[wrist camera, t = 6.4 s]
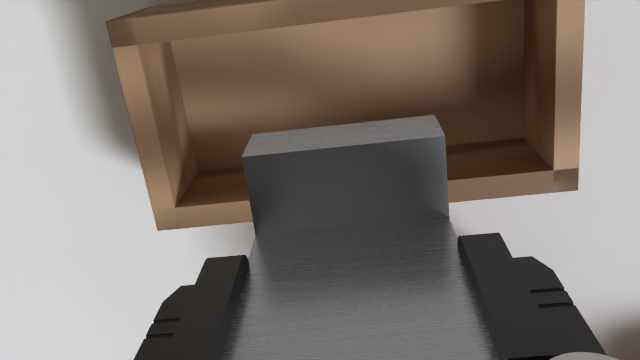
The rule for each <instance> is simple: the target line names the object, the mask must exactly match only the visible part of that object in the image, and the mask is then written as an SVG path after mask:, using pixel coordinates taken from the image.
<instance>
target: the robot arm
mask: <svg viewBox="0 0 640 360" xmlns="http://www.w3.org/2000/svg"><path fill="white" fill-rule="evenodd" d="M457 247H458V250H459V252H460V255H461V258H462V260H463V263H464V266H465V269H466V271H467V274H468V277H469V280H470V282H471V285H472V288H473V290H474V293H475V296H476V299H477V301H478V304H479V307H480V309H481V312H482V315H483V318H484V320H485V323H486V326H487V329H488V331H489V334H490V337H491V339H492V342H493V345H494V348H495V350H496V353H497V356H498V358H499V360H618V359H616V358H613V357H610V356H607V355H606V353H605V352H604V350H603V349H602V347H601V345H600V344H599V342H598V341H597V339H596V337H595V336H594V334H593V333H592V331H591V330H590V328H589V326H588V325H587V323H586V322H585V320H584V318H583V317H582V315H581V314H580V312H579V311H578V309H577V307H576V306H574V305H573V301H572V299H571V298H570V296H569V295H568V293H567V292H566V291H564V287H563V285H562V284H561V282H560V280H559V279H558V277H557V276H556V274H555V273H554V271H553V270H552V269H550V268H549V267H547V266H546V265H544V264H543V263H541V262H540V261H538V260H537V259H535V258H534V257H532V256H531V257H519V258H512V256H511V254H510V252H509V250H508V248H507V246H506V244H505V242H504V241H503V239H502V237H501V235H500V234H499V233H490V234H478V235H467V236H459V237H458V241H457ZM248 268H249V261H248V258H247V257H246V255H238V256H227V257H216V258H207V259H206V261H205V263H204V265H203V267H202V269H201V272H200V274H199V276H198V279H197V281H196V283H195V285H187V286H181V287H179V288H178V289H177V290H176V291H175V292H174V293H173V294H171V295H170V296H169V297H168V298H167V299H166V300H165V301H164V302H163V303H162V305H161V307H160V309H159V311H158V313H157V315H156V317H155V319H154V324H151V326H150V328H149V330H148V332H147V334H146V339H144V340H143V342H142V344H141V346H140V348H139V350H138V352H137V354H136V356H135V358H134V360H222V357H223V353H224V350H225V346H226V343H227V340H228V336H229V333H230V329H231V326H232V322H233V319H234V316H235V312H236V309H237V305H238V302H239V298H240V295H241V292H242V288H243V285H244V281H245V278H246V275H247V271H248Z"/></svg>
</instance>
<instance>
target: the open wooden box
mask: <svg viewBox="0 0 640 360" xmlns="http://www.w3.org/2000/svg"><path fill="white" fill-rule="evenodd" d="M584 13H585V0H207V1H199V2H192V3H184V4H176V5H168V6H160V7H152V8H145V9H142V10H139V11H136V12H134V13H131V14H128V15H125V16H122V17H119V18H116V19H113V20H110V21H107V22H106V25H107V29H108V33H109V37H110V41H111V45H112V49H113V53H114V57H115V61H116V65H117V69H118V73H119V78H120V82H121V86H122V90H123V94H124V98H125V102H126V106H127V110H128V114H129V118H130V122H131V126H132V130H133V134H134V138H135V142H136V146H137V150H138V154H139V158H140V162H141V166H142V170H143V174H144V178H145V182H146V186H147V190H148V194H149V198H150V202H151V206H152V210H153V214H154V218H155V222H156V226H157V230H158V231H159V230H170V229H180V228H190V227H201V226H211V225H222V224H232V223H242V222H253V218H252V212H251V207H250V201H249V196H248V190H247V185H246V179H245V173H244V168H243V162H242V155H243V153H244V151H245V149H246V146H247V144H248V142H249V140H250V138H251V136H252V134H259V133H268V132H277V131H287V130H296V129H305V128H315V127H324V126H333V125H343V124H352V123H362V122H371V121H380V120H390V119H399V118H408V117H418V116H427V115H435V117H436V119H437V121H438V123H439V125H440V127H441V129H442V131H443V133H444V134H445V143H446V164H447V185H448V203H450V202H460V201H471V200H481V199H491V198H502V197H512V196H522V195H533V194H543V193H553V192H564V191H574V190H578V173H579V146H580V120H581V93H582V66H583V40H584Z"/></svg>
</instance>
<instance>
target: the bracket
mask: <svg viewBox="0 0 640 360" xmlns="http://www.w3.org/2000/svg"><path fill="white" fill-rule="evenodd" d="M242 162H243V168H244V173H245V179H246V185H247V190H248V196H249V201H250V207H251V212H252V218H253V223H254V229H255V234H256V236H255V240H254V243H253V246H252V250H251V253H250V256H249V259H248V261H249V268H248V271H247V275H246V278H245V281H244V285H243V288H242V292H241V295H240V298H239V302H238V305H237V309H236V312H235V316H234V319H233V322H232V326H231V329H230V333H229V336H228V340H227V343H226V346H225V350H224V353H223V357H222V360H499V358H498V356H497V353H496V350H495V348H494V345H493V342H492V339H491V337H490V334H489V331H488V329H487V326H486V323H485V320H484V318H483V315H482V312H481V309H480V307H479V304H478V301H477V299H476V296H475V293H474V290H473V288H472V285H471V282H470V280H469V277H468V274H467V271H466V269H465V266H464V263H463V260H462V258H461V255H460V252H459V250H458V247H457V241H458V240H457V237H456V235H455V232H454V229H453V227H452V224H451V221H450V219H449V206H448V185H447V164H446V143H445V134H444V133H443V131H442V129H441V127H440V125H439V123H438V121H437V119H436V117H435V115H427V116H418V117H408V118H399V119H390V120H380V121H371V122H362V123H352V124H343V125H333V126H324V127H315V128H305V129H296V130H287V131H277V132H268V133H259V134H252V136H251V138H250V140H249V142H248V144H247V146H246V149H245V151H244V153H243V155H242Z"/></svg>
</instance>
